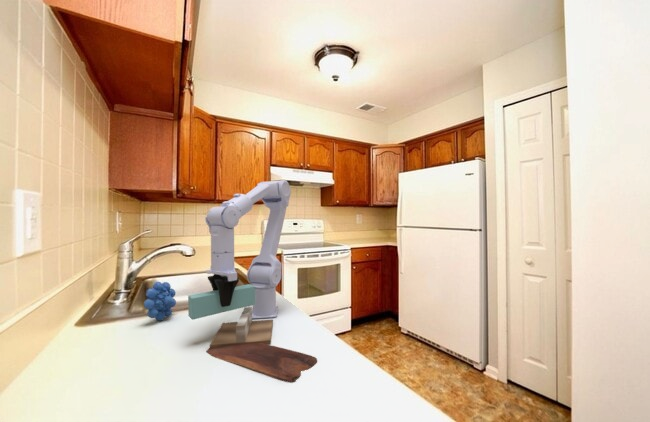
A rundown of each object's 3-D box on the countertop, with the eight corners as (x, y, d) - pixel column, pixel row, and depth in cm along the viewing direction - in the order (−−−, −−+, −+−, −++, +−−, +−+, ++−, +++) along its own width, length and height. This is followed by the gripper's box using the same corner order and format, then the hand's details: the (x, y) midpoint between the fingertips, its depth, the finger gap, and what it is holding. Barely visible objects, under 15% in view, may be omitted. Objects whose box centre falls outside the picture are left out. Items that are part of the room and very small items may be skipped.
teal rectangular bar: (249, 301, 77) (249, 284, 77) (255, 304, 74) (254, 286, 74) (188, 315, 67) (188, 295, 67) (192, 319, 64) (191, 298, 64)
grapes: (158, 329, 75) (158, 286, 76) (137, 327, 77) (137, 285, 77) (186, 314, 87) (186, 277, 87) (168, 313, 88) (168, 276, 88)
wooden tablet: (198, 347, 62) (232, 327, 71) (199, 357, 62) (233, 335, 71) (292, 381, 49) (319, 351, 58) (293, 392, 49) (320, 360, 58)
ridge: (222, 326, 77) (222, 308, 77) (272, 323, 79) (272, 305, 79) (209, 349, 63) (209, 327, 63) (270, 344, 65) (270, 323, 65)
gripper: (198, 250, 74) (199, 300, 73) (216, 256, 63) (216, 315, 62) (224, 248, 78) (225, 295, 78) (245, 253, 67) (245, 308, 67)
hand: (223, 304), depth 70 cm, fingers closed on teal rectangular bar, 4 cm apart
